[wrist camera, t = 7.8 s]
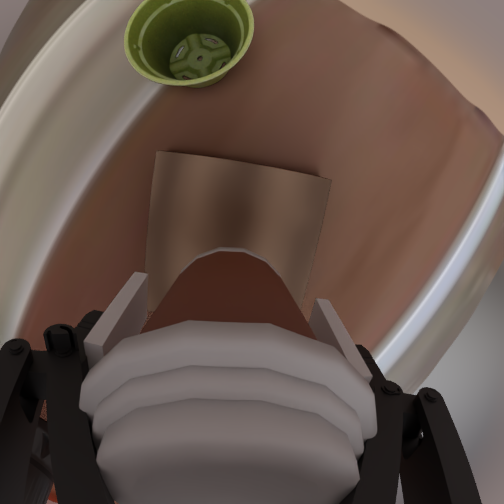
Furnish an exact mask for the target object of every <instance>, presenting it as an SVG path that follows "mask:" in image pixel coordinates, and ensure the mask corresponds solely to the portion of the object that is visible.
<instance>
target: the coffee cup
mask: <svg viewBox="0 0 504 504" xmlns="http://www.w3.org/2000/svg"><path fill="white" fill-rule="evenodd" d="M79 408H80V409H81V410H82V411H84V412H86V413H87V417H88V420H89V423H90V426H91V430H92V432H91V434H92V439H93V442H94V445H95V448H96V450H97V458H96V462H97V465H98V468H99V471H100V473H101V476H102V478H103V480H104V482H105V484H106V486H107V488H108V490H109V492H110V494H111V496H112V498H113V500H115V501H116V502H117V503H119V504H339V503H340V502H341V501H342V500H343V499H344V498H345V497H346V496H347V495H348V494H349V493H350V492H351V491H352V490H353V489H354V488H355V487H356V485H357V483H358V481H359V480H360V476H359V471H358V465H357V462H358V460H359V459H360V457H361V455H362V454H363V452H364V443H365V441H366V440H367V439H369V438H373V437H374V436H375V435H376V433H377V418H376V406H375V396H374V393H373V391H372V389H371V387H370V385H369V383H368V381H367V380H366V379H365V378H364V377H363V376H362V375H361V374H360V373H359V372H358V371H357V370H356V369H355V367H354V366H353V365H352V364H351V363H350V362H349V361H348V360H347V359H346V358H345V357H344V356H343V355H342V354H341V353H340V352H339V351H338V350H337V349H336V348H335V347H334V346H331V345H328V344H325V343H322V342H319V341H318V340H317V338H316V336H315V334H314V333H313V331H312V329H311V328H310V326H309V324H308V323H307V321H306V319H305V317H304V316H303V314H302V312H301V311H300V309H299V307H298V305H297V304H296V302H295V300H294V299H293V297H292V295H291V294H290V292H289V290H288V289H287V287H286V285H285V283H284V282H283V280H282V278H281V276H280V273H279V272H278V271H277V270H276V269H275V268H274V267H273V266H272V265H271V264H270V263H269V262H268V261H267V259H266V258H264V257H262V256H260V255H258V254H255V253H253V252H251V251H249V250H246V249H244V248H226V247H219V248H216V249H213V250H211V251H208V252H205V253H202V254H199V255H197V256H196V257H195V258H194V259H193V260H192V261H191V262H190V263H189V264H187V265H186V266H185V267H184V268H183V269H182V270H181V273H180V275H179V276H178V277H177V279H176V280H175V282H174V283H173V285H172V286H171V288H170V289H169V291H168V292H167V293H166V295H165V296H164V298H163V299H162V301H161V302H160V304H159V305H158V307H157V308H156V310H155V311H154V313H153V314H152V316H151V317H150V319H149V320H148V322H147V323H146V325H145V326H144V328H143V329H142V331H141V332H140V334H139V335H135V336H132V337H128V338H124V339H122V340H121V341H120V342H119V343H118V344H117V345H116V346H115V347H114V348H113V349H112V350H111V351H109V352H108V353H107V354H106V355H105V356H104V357H103V358H102V359H101V360H100V361H99V362H98V363H97V364H96V365H95V366H94V367H93V368H92V369H91V370H89V372H88V374H87V376H86V378H85V379H84V381H83V383H82V385H81V393H80V401H79Z"/></svg>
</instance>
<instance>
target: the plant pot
mask: <svg viewBox="0 0 504 504" xmlns="http://www.w3.org/2000/svg"><path fill="white" fill-rule="evenodd" d="M253 33H254V18H253V14H252V11H251V9H250V7H249V5H248V3H247V2H246V0H144V1H143V2H142V3H141V4H140V5H139V6H138V8H137V9H136V10H135V12H134V13H133V14H132V16H131V18H130V20H129V22H128V24H127V27H126V30H125V35H124V48H125V53H126V56H127V58H128V60H129V62H130V64H131V65H132V67H133V68H134V69H135V70H136V71H137V72H138V73H139V74H141V75H142V76H144V77H145V78H147V79H149V80H151V81H154V82H156V83H160V84H165V85H173V86H188V87H193V88H202V87H206V86H210V85H212V84H214V83H217V82H218V81H220V80H221V79H222V78H223V77H224V76H225V75H226V74H227V72H228V71H229V70H230V69H231V68H232V67H233V66H235V65H236V64H237V63H238V62H239V61H240V59H241V58H242V57H243V56H244V54H245V53H246V51H247V50H248V48H249V46H250V43H251V41H252V37H253ZM207 38H209V39H214V40H216V41H217V42H218V44H214V43H212V42H210V41H207V40H205V39H207ZM182 46H184V48H183V50H182V51H181V53H180V54H179V57H177V58H176V54H177V52H178V50H179V48H180V47H182ZM199 56H201V57H202V60H201V61H198V60H197V58H198V57H199ZM223 62H225V63H226V65H225V66H224V67H223V68H221V66H222V64H223ZM220 68H221V69H220ZM219 69H220V70H219ZM183 76H186V77H188V78H190V79H193V80H185V79H183Z"/></svg>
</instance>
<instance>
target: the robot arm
mask: <svg viewBox="0 0 504 504" xmlns="http://www.w3.org/2000/svg"><path fill="white" fill-rule="evenodd" d="M147 292H148V274H145V273H140V272H134V274H133V275H132V276H131V277H130V279H129V280H128V281H127V283H126V284H125V285H124V286H123V288H122V289H121V290H120V292H119V293H118V294H117V296H116V297H115V298H114V300H113V301H112V302H111V304H110V305H109V306H108V308H107V309H106V310H105V312H101V311H97V310H93V311H91V312H89V313H88V314H86V315H85V316H84V318H83V319H82V320H81V322H80V323H79V324H78V325H77V327H76V328H75V329H74V328H73V327H72V326H69V325H67V324H55V325H52V326H50V327H48V328H47V329H46V330H45V332H44V334H43V335H44V339H45V344H46V348H47V351H37V350H31V347H30V344H29V343H28V342H27V341H26V340H24V339H12V340H9V341H7V342H6V343H5V344H4V345H3V347H2V348H1V350H0V504H46V503H47V500H48V497H49V494H50V492H51V489H52V486H53V483H54V485H55V490H56V495H57V500H58V504H115V503H114V500H113V498H112V496H111V494H110V492H109V490H108V488H107V486H106V484H105V482H104V480H103V478H102V476H101V473H100V471H99V468H98V465H97V462H96V458H97V450H96V448H95V445H94V442H93V439H92V434H91V432H92V430H91V426H90V423H89V420H88V417H87V413H86V412H84V411H82V410H81V409H80V408H79V401H80V393H81V385H82V383H83V381H84V379H85V378H86V376H87V374H88V372H89V370H91V369H92V368H93V367H94V366H95V365H96V364H97V363H98V362H99V361H100V360H101V359H102V358H103V357H104V356H105V355H106V354H107V353H108V352H109V351H111V350H112V349H113V348H114V347H115V346H116V345H117V344H118V343H119V342H120V341H121V340H122V339H124V338H128V337H132V336H135V335H139V333H140V331H141V329H142V327H143V325H144V323H145V321H146V318H147ZM308 324H309V326H310V328H311V329H312V331H313V333H314V334H315V336H316V338H317V340H318V341H319V342H322V343H325V344H328V345H331V346H334V347H335V348H336V349H337V350H338V351H339V352H340V353H341V354H342V355H343V356H344V357H345V358H346V359H347V360H348V361H349V362H350V363H351V364H352V365H353V366H354V367H355V369H356V370H357V371H358V372H359V373H360V374H361V375H362V376H363V377H364V378H365V379H366V380H367V381H368V383H369V385H370V387H371V389H372V391H373V393H374V396H375V406H376V418H377V433H376V435H375V436H374V437H373V438H369V439H367V440H366V441H365V443H364V452H363V454H362V455H361V457H360V459H359V460H358V462H357V465H358V471H359V476H360V480H359V481H358V483H357V485H356V487H355V488H354V489H353V490H352V491H351V492H350V493H349V494H348V495H347V496H346V497H345V498H344V499H343V500H342V501H341V502H340V503H339V504H395V502H396V495H397V488H398V479H399V473H400V479H401V485H402V492H403V498H404V504H482V503H481V499H480V496H479V493H478V489H477V486H476V483H475V480H474V477H473V473H472V471H471V468H470V465H469V462H468V459H467V456H466V454H465V451H464V448H463V446H462V443H461V440H460V438H459V435H458V433H457V430H456V428H455V425H454V423H453V420H452V418H451V415H450V413H449V411H448V408H447V406H446V404H445V402H444V399H443V397H442V396H441V394H440V393H439V392H437V391H436V390H435V389H432V388H428V387H425V388H422V389H420V390H419V392H418V394H417V395H411V394H406V393H403V391H402V389H401V388H400V386H399V385H397V384H396V383H394V382H392V381H388V380H386V379H385V377H384V376H383V374H382V372H381V371H380V369H379V367H378V366H377V364H376V362H375V361H374V359H372V358H373V357H372V356H371V354H370V353H369V351H368V350H367V349H366V348H364V347H363V346H362V345H355V344H354V342H353V341H352V339H351V337H350V335H349V334H348V332H347V330H346V329H345V327H344V325H343V323H342V322H341V320H340V318H339V317H338V315H337V313H336V312H335V310H334V308H333V306H332V305H331V303H330V301H329V300H327V299H318V298H316V299H315V303H314V306H313V310H312V313H311V316H310V320H309V323H308ZM44 400H46V403H47V422H45V421H44V420H42V419H40V418H39V417H40V413H41V409H42V406H43V402H44ZM422 432H423V437H422V435H421V433H422Z"/></svg>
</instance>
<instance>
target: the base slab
mask: <svg viewBox="0 0 504 504" xmlns="http://www.w3.org/2000/svg"><path fill="white" fill-rule="evenodd" d="M331 182H332V180H330V179H327V178H323V177H320V176H315V175H311V174H306V173H301V172H296V171H291V170H286V169H281V168H276V167H271V166H265V165H260V164H254V163H248V162H242V161H236V160H230V159H224V158H217V157H210V156H203V155H195V154H188V153H179V152H171V151H156V158H155V165H154V172H153V180H152V189H151V197H150V207H149V217H148V228H147V241H146V257H145V274H148V292H147V311H150V312H154V311H155V310H156V308H157V307H158V305H159V304H160V302H161V301H162V299H163V298H164V296H165V295H166V293H167V292H168V291H169V289H170V288H171V286H172V285H173V283H174V282H175V280H176V279H177V277H178V276H179V275H180V273H181V270H182V269H183V268H184V267H185V266H186V265H187V264H189V263H190V262H191V261H192V260H193V259H194V258H195V257H196V256H197V255H199V254H202V253H205V252H208V251H211V250H213V249H216V248H219V247H226V248H244V249H246V250H249V251H251V252H253V253H255V254H258V255H260V256H262V257H264V258H266V259H267V261H268V262H269V263H270V264H271V265H272V266H273V267H274V268H275V269H276V270H277V271H278V272H279V273H280V276H281V278H282V280H283V282H284V283H285V285H286V287H287V289H288V290H289V292H290V294H291V295H292V297H293V299H294V300H295V302H296V304H297V305H298V307H299V309H300V310H301V306H302V302H303V299H304V295H305V291H306V287H307V284H308V280H309V276H310V272H311V268H312V264H313V260H314V256H315V252H316V248H317V244H318V240H319V236H320V232H321V227H322V223H323V219H324V214H325V210H326V205H327V201H328V196H329V191H330V187H331Z"/></svg>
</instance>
